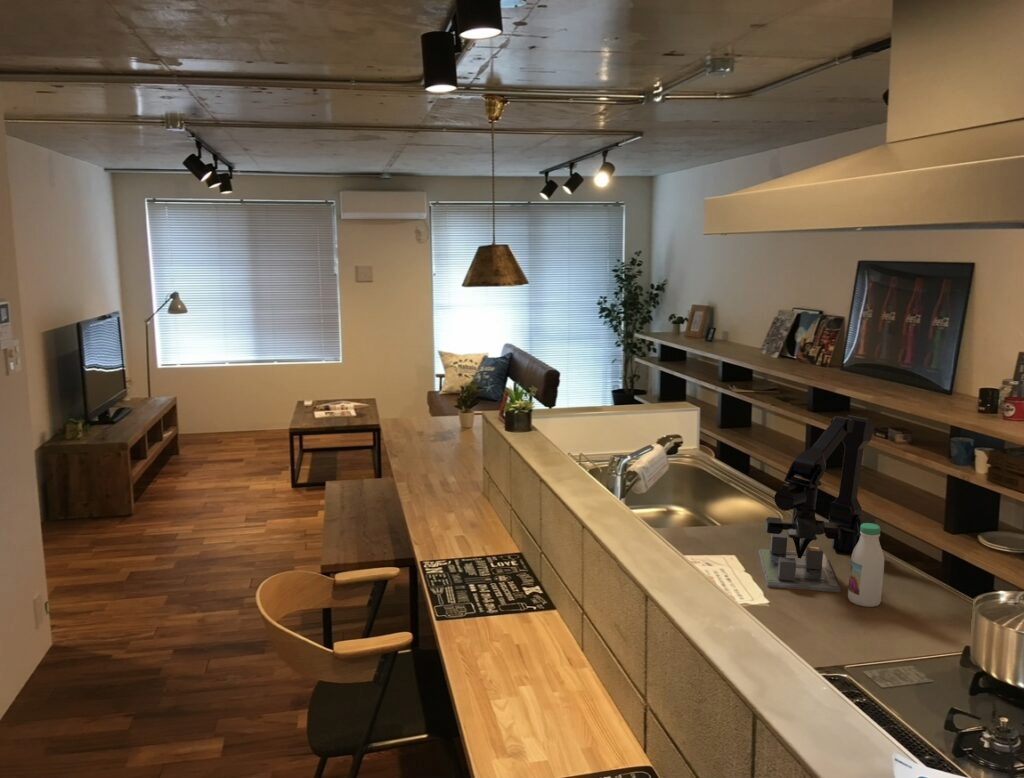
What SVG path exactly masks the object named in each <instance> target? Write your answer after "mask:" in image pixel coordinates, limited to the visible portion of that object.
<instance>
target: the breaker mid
mask: <svg viewBox="0 0 1024 778" xmlns="http://www.w3.org/2000/svg"><path fill="white" fill-rule="evenodd" d="M804 552H805V566H806V568H808V569H822V560H823V553H824V551H823V548H822V547H818V546H817V547H816V546H807V548H806V550H805V551H804Z"/></svg>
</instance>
